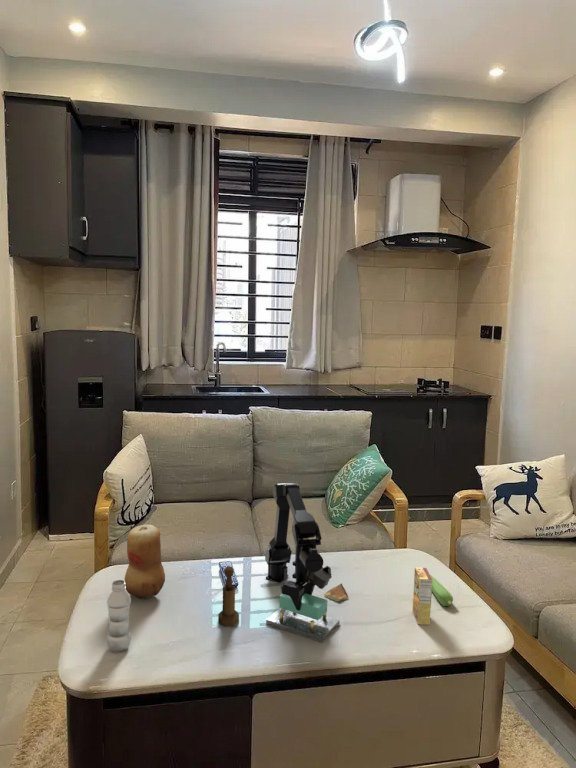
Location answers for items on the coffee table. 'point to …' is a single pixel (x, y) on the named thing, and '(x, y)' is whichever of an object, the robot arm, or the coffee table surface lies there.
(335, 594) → the shard
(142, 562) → the butternut squash
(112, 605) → the plastic bottle
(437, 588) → the green cucumber
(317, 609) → the green rectangular block
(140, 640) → the coffee table surface
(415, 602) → the candy box
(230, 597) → the brown wooden tall piece
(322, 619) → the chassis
